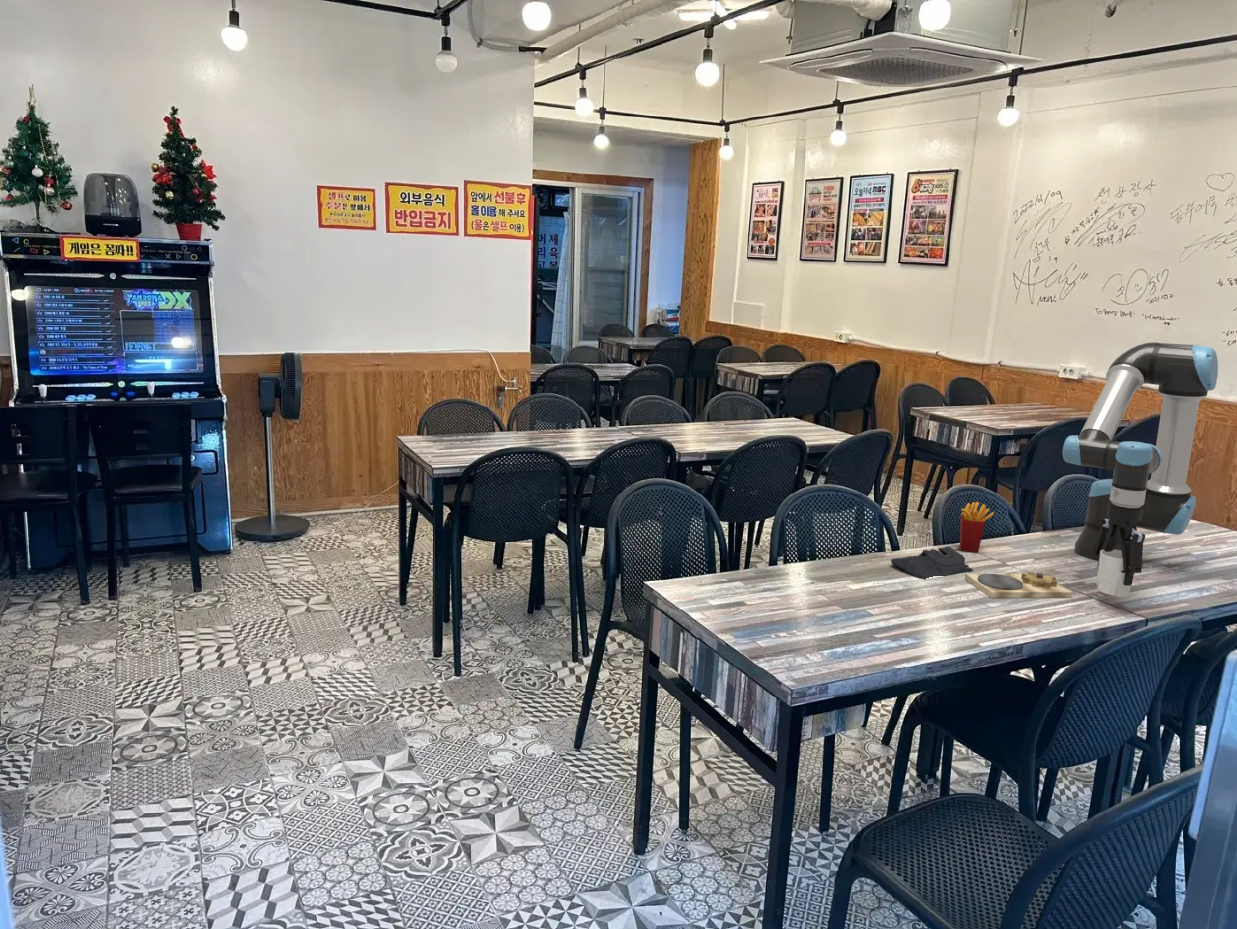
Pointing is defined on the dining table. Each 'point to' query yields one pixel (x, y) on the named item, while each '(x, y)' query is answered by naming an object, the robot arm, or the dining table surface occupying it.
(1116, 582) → the white cup
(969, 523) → the french fries
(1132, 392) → the robot arm
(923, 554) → the dark slate chunk
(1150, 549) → the dining table surface
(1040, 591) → the gear board
